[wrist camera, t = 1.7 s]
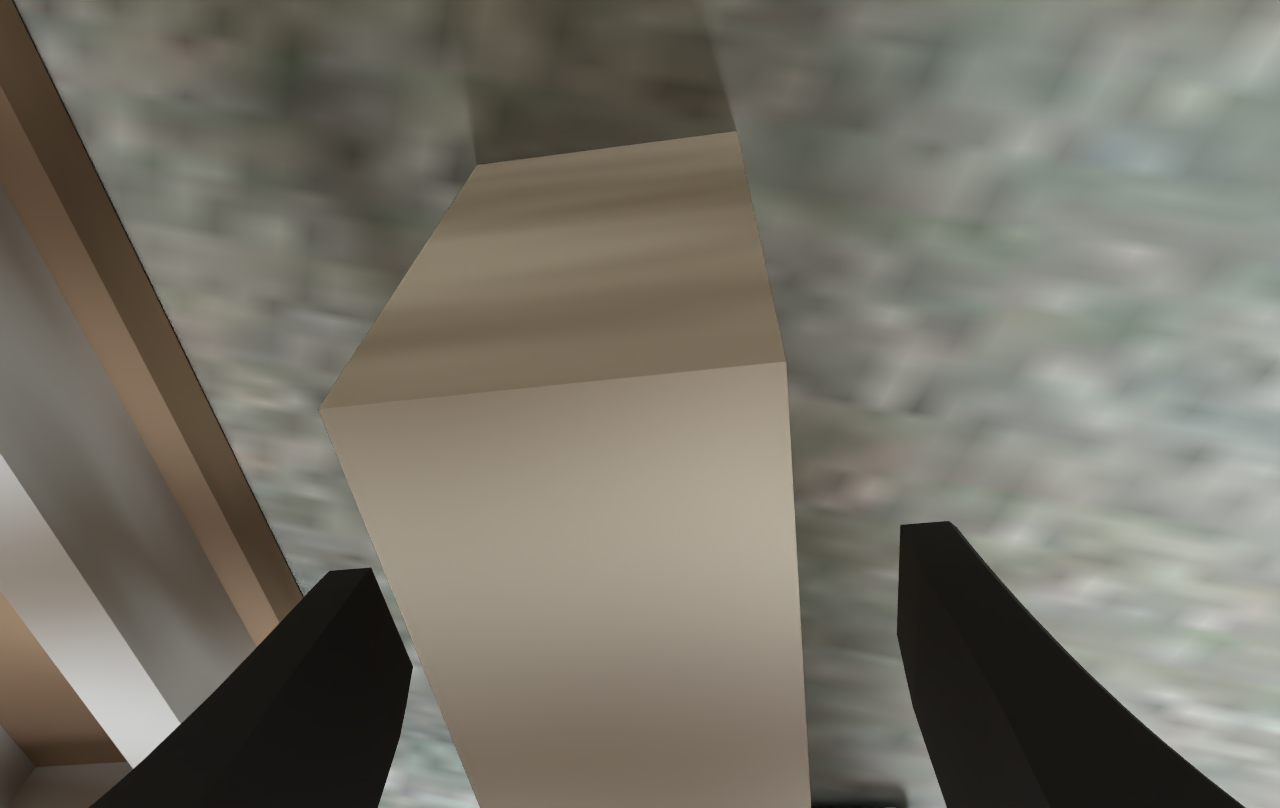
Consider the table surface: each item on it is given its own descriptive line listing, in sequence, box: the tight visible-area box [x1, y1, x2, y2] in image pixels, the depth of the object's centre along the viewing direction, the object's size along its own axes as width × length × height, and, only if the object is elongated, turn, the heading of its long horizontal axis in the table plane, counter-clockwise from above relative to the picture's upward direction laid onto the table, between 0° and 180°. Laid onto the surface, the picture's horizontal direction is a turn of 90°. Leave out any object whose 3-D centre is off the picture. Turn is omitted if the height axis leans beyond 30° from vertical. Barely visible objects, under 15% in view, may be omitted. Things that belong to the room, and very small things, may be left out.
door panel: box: [318, 131, 811, 808], centre depth 13 cm, size 10×4×7 cm, turn 8°
